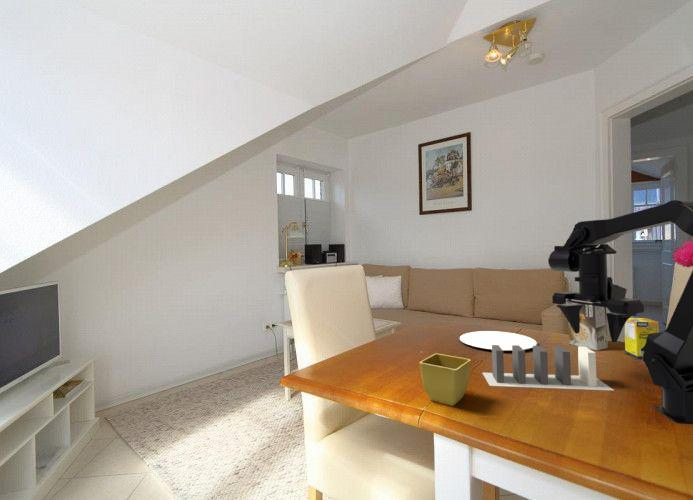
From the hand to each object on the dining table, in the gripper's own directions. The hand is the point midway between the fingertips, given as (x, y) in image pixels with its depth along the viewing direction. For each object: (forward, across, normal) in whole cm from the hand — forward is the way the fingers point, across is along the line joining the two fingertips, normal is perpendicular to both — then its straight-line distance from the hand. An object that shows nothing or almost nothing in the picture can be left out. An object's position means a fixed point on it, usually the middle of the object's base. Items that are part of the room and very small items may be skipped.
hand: (594, 337), depth 84 cm
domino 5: (+11, +1, +2) cm, 11 cm away
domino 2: (+11, +8, +15) cm, 20 cm away
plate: (+12, +39, -4) cm, 41 cm away
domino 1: (+11, +10, +20) cm, 25 cm away
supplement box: (+12, +10, -32) cm, 36 cm away
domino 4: (+11, +4, +6) cm, 13 cm away
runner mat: (+11, +6, +10) cm, 16 cm away
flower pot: (+12, +6, +38) cm, 40 cm away
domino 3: (+11, +6, +11) cm, 17 cm away
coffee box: (+12, +24, -28) cm, 39 cm away
